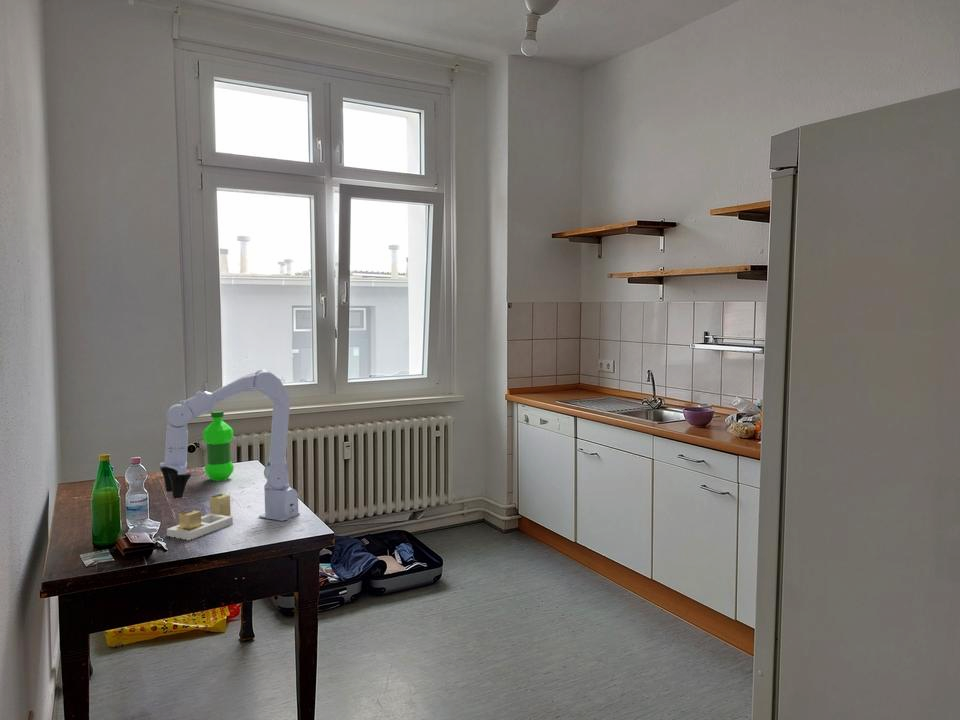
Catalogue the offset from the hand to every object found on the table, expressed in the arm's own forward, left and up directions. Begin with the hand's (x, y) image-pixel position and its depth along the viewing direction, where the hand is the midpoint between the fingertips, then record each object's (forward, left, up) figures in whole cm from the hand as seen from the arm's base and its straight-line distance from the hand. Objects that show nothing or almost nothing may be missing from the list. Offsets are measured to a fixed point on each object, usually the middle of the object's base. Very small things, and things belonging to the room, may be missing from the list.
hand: (174, 494), depth 191 cm
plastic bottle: (+32, -46, -10) cm, 57 cm away
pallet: (-7, -2, -10) cm, 13 cm away
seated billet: (-7, +1, -10) cm, 12 cm away
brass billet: (-2, -14, -10) cm, 18 cm away
